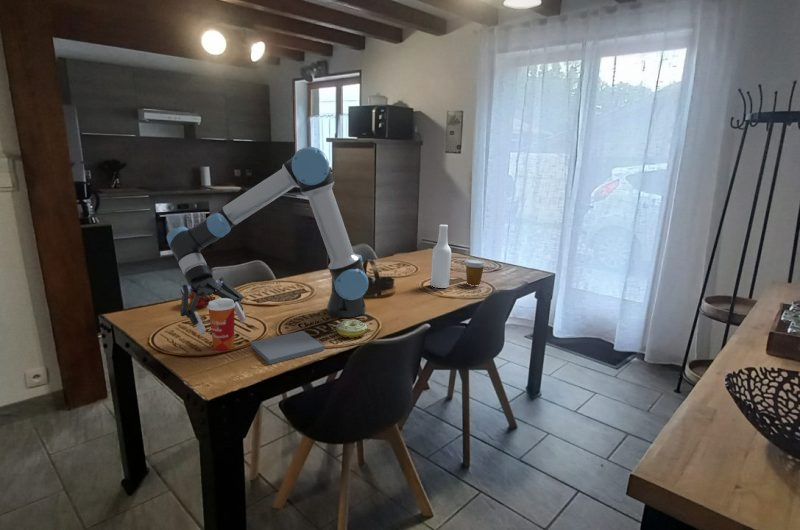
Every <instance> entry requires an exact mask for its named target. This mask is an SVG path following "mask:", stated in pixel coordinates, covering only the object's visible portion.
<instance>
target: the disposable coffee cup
mask: <svg viewBox="0 0 800 530" xmlns="http://www.w3.org/2000/svg"><path fill="white" fill-rule="evenodd" d="M464 264H465V269H466V273H465V274H466V275H465V276H466V284H467V283H468V284H471V285H479V284H480V285H481V281H482V276H483V271H484V267H485V266H486V264H485V261H484V260H483V259H482V260H481V259H476V258H475V259H474V258H472V259H471V258H470V259H466V261H465V263H464Z"/></svg>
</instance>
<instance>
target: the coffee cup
mask: <svg viewBox="0 0 800 530" xmlns="http://www.w3.org/2000/svg"><path fill="white" fill-rule="evenodd" d="M235 306H236V304H235V303H234V301H233V300H232V299H229V298H221V297H218V298H215V300H212V301H210V302H209V303H208V305H206V308H207V310H208V314H209V315H208V316H209V324H210V330H211V331H210V333H211V339H212V345H213V349H214V350H215V351H228V350H230V349H233V348H234V345H235V311H234V309H235Z"/></svg>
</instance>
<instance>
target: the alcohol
mask: <svg viewBox="0 0 800 530" xmlns="http://www.w3.org/2000/svg"><path fill="white" fill-rule="evenodd" d="M438 226H439V227H438V229H439V231H438V236H437V243H436V245H434V246H433V248H432V257H431V274H430V276H431V277H430V286H431V287H432V286H433V287H438V288H446V287H448V286H450V275H451V263H452V248H451V247H450V246H449V243H448V229H449V228H448V226H449V225H448V224H439V225H438ZM433 287H432V288H433ZM448 288H449V287H448ZM446 289H447V288H446Z"/></svg>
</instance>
